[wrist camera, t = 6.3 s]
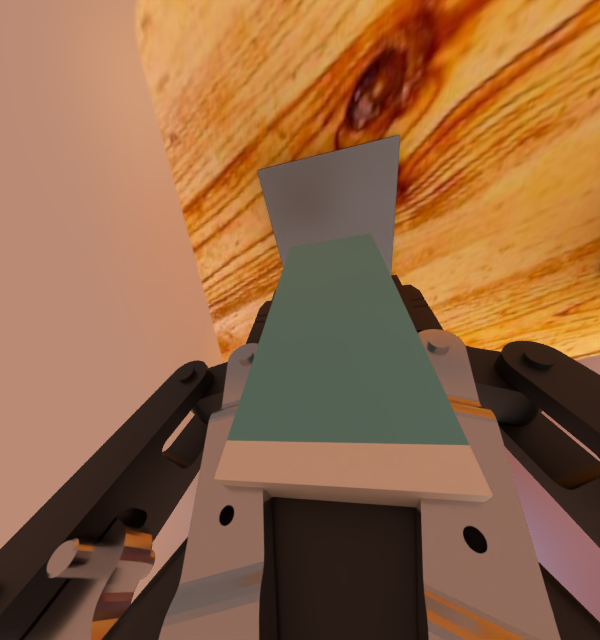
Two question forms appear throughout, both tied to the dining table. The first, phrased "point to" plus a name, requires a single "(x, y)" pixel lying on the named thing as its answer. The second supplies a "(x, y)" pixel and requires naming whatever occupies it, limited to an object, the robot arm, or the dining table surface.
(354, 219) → the mat
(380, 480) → the block
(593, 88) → the dining table surface
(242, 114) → the dining table surface
